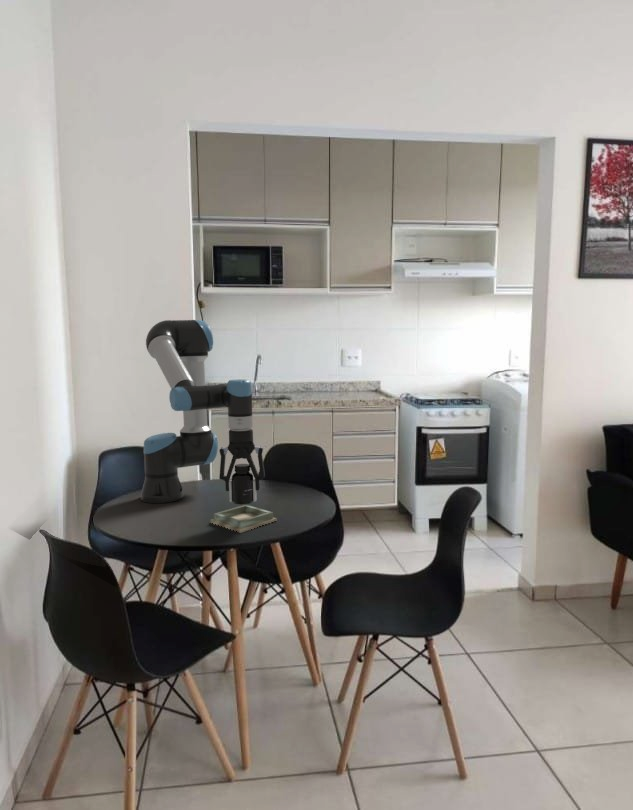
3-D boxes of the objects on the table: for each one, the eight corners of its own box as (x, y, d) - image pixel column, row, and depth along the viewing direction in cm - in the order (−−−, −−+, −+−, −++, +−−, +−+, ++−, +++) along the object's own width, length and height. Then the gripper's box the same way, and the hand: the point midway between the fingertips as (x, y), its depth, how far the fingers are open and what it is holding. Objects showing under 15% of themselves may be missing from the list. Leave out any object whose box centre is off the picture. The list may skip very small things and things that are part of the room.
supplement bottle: (250, 505, 192) (249, 467, 191) (229, 504, 194) (228, 467, 192) (256, 499, 199) (255, 463, 198) (236, 498, 201) (235, 462, 199)
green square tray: (210, 522, 197) (209, 513, 197) (246, 512, 208) (246, 503, 208) (240, 533, 187) (240, 523, 187) (276, 521, 198) (276, 512, 197)
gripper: (207, 431, 190) (210, 504, 192) (271, 430, 190) (273, 503, 193) (210, 427, 197) (213, 498, 200) (272, 426, 198) (274, 496, 200)
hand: (243, 500), depth 196 cm, fingers closed on supplement bottle, 7 cm apart
